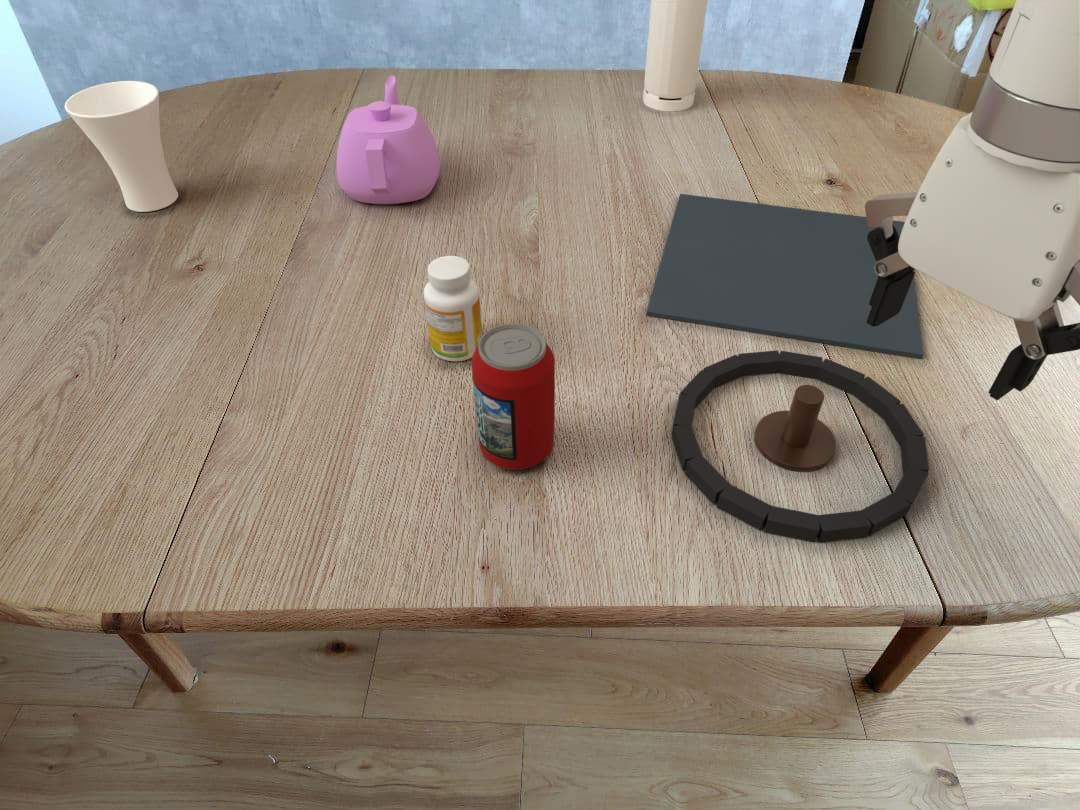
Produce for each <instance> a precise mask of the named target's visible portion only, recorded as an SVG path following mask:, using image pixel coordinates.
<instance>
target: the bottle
mask: <svg viewBox="0 0 1080 810" xmlns="http://www.w3.org/2000/svg"><path fill="white" fill-rule="evenodd" d="M707 5H708V0H650V10H649V21H648V22H649V23H648V34H647V45H646V56H645V70H644V78H643V79H644V80H643V85H644V87H643V92H642V103H643V104H644V105H645V106H646V107H648V108H650V109H652V110H655V111H661V112H681V111H685V110H688V109H689V108H691V107H692V106H693V105H694V103H695V96H696V92H695V90H696V87H697V80H698V73H699V65H700V57H701V50H702V44H703V42H702V41H703V37H704V35H703V34H704V28H705V20H706V14H707V13H706V12H707ZM661 98H662V99H661ZM668 99H669V100H668ZM671 99H675V100H671Z"/></svg>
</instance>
